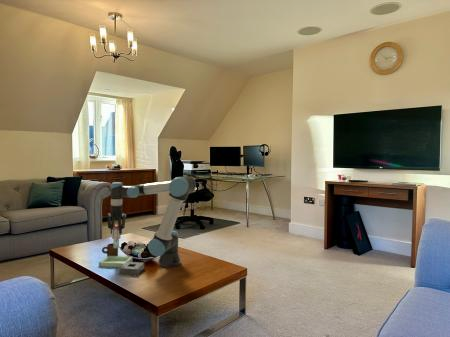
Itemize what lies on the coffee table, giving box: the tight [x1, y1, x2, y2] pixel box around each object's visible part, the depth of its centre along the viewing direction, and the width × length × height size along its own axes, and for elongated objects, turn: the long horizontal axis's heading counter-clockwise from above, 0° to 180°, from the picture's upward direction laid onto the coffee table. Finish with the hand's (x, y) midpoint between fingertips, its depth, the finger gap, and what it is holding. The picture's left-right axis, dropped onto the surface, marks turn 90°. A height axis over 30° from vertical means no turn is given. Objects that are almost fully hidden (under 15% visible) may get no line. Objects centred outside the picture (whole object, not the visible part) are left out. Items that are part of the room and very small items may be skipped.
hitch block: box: [118, 261, 145, 276], centre depth 199 cm, size 12×12×4 cm
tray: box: [98, 255, 134, 269], centre depth 212 cm, size 18×14×3 cm
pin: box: [112, 224, 120, 249], centre depth 212 cm, size 4×4×15 cm
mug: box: [101, 242, 119, 257], centre depth 224 cm, size 12×8×9 cm, turn 140°
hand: (116, 238), depth 212 cm, fingers closed on pin, 3 cm apart
